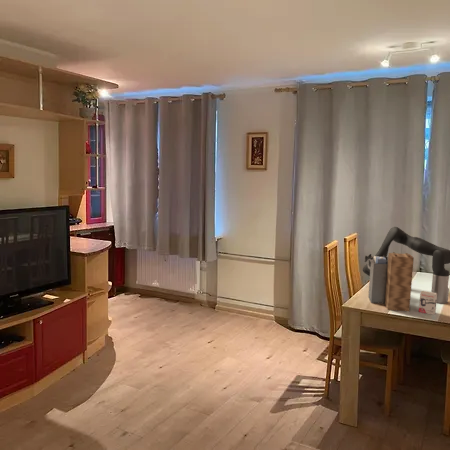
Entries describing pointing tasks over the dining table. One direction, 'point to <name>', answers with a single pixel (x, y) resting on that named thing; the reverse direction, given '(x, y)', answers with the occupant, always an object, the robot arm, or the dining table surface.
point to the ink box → (427, 302)
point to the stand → (399, 281)
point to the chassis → (378, 282)
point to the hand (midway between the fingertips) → (377, 255)
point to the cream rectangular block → (380, 260)
